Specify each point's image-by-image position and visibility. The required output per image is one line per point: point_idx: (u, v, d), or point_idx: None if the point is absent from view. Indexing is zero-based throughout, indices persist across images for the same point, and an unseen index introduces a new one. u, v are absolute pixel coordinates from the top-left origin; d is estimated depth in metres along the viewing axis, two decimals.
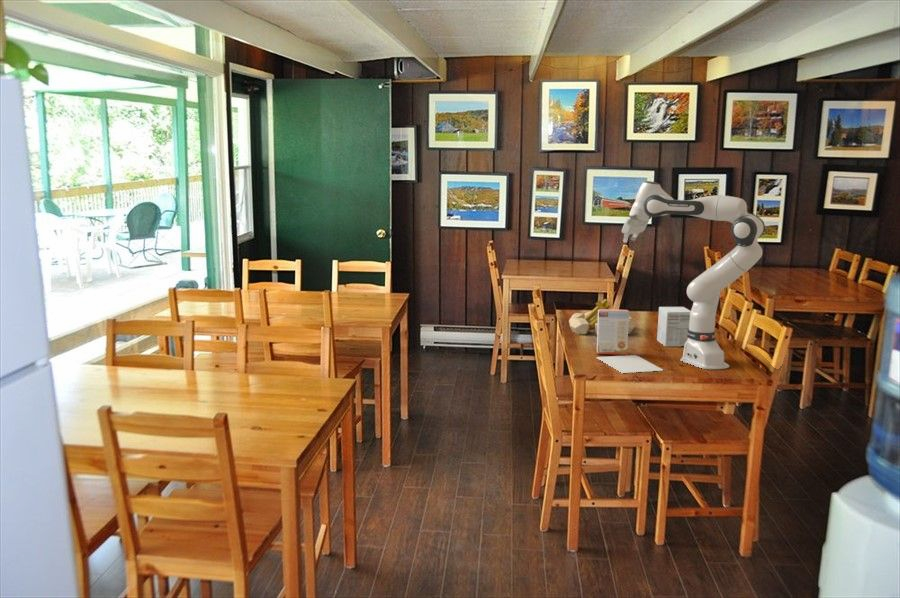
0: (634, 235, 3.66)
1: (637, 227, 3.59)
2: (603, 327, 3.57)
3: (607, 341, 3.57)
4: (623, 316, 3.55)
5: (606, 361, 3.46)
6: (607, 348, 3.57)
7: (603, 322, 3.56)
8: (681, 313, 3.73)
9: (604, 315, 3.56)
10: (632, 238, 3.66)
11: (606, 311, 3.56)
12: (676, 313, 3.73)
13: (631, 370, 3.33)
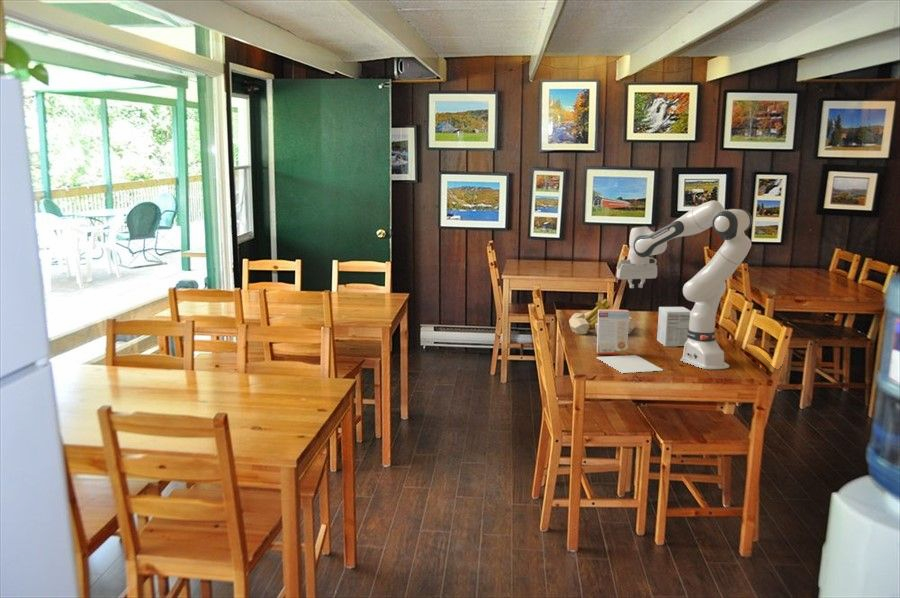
0: (641, 282, 3.71)
1: (637, 272, 3.67)
2: (603, 327, 3.56)
3: (607, 341, 3.57)
4: (623, 316, 3.55)
5: (606, 361, 3.46)
6: (607, 348, 3.57)
7: (603, 323, 3.56)
8: (681, 313, 3.73)
9: (604, 315, 3.56)
10: (639, 285, 3.71)
11: (606, 311, 3.56)
12: (676, 313, 3.73)
13: (631, 370, 3.33)
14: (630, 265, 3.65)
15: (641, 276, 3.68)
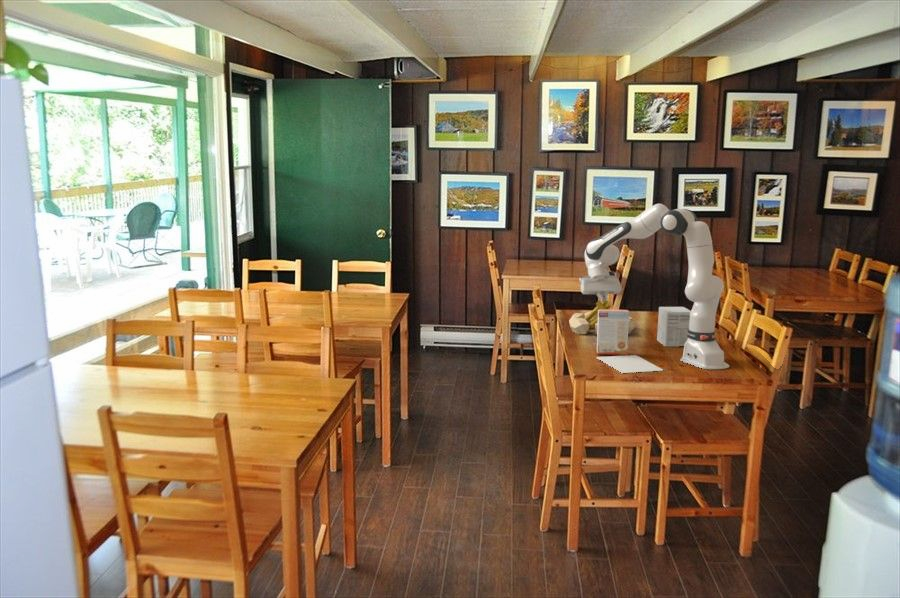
0: (605, 296, 3.71)
1: (600, 285, 3.72)
2: (603, 327, 3.56)
3: (607, 341, 3.57)
4: (623, 316, 3.55)
5: (606, 361, 3.46)
6: (607, 348, 3.57)
7: (603, 323, 3.56)
8: (681, 313, 3.73)
9: (604, 315, 3.56)
10: None
11: (606, 311, 3.56)
12: (676, 313, 3.73)
13: (631, 370, 3.33)
14: (591, 279, 3.72)
15: (605, 288, 3.71)
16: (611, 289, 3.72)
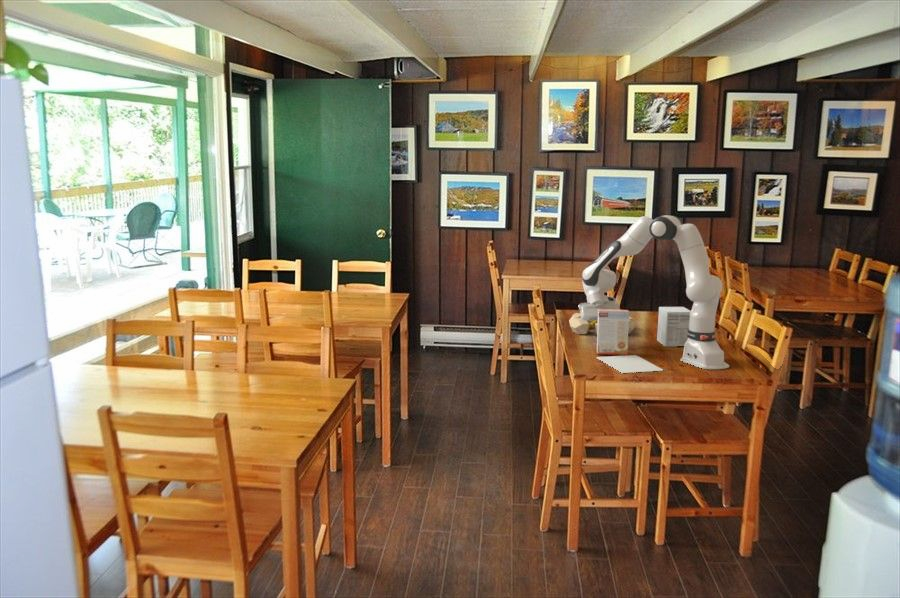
0: None
1: None
2: (603, 327, 3.56)
3: (607, 341, 3.57)
4: (623, 316, 3.55)
5: (606, 361, 3.46)
6: (607, 348, 3.57)
7: (603, 323, 3.56)
8: (681, 313, 3.73)
9: (604, 315, 3.56)
10: None
11: (606, 311, 3.56)
12: (676, 313, 3.73)
13: (631, 370, 3.33)
14: (591, 305, 3.70)
15: None
16: None
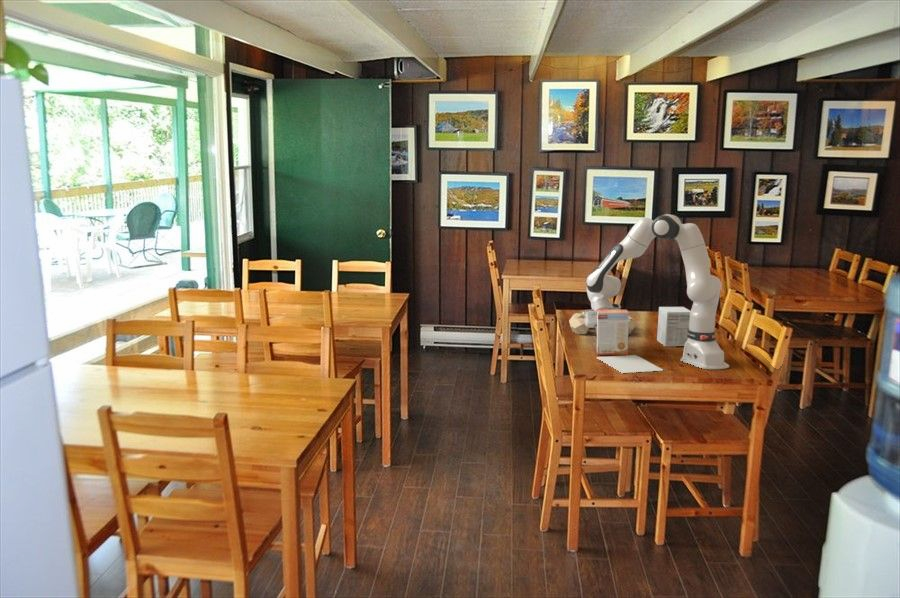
0: None
1: None
2: (603, 329, 3.54)
3: (607, 343, 3.56)
4: (623, 318, 3.52)
5: (606, 361, 3.46)
6: (607, 349, 3.57)
7: (603, 325, 3.54)
8: (681, 313, 3.73)
9: (603, 317, 3.53)
10: None
11: (605, 313, 3.52)
12: (676, 313, 3.73)
13: (631, 370, 3.33)
14: (595, 311, 3.65)
15: None
16: None
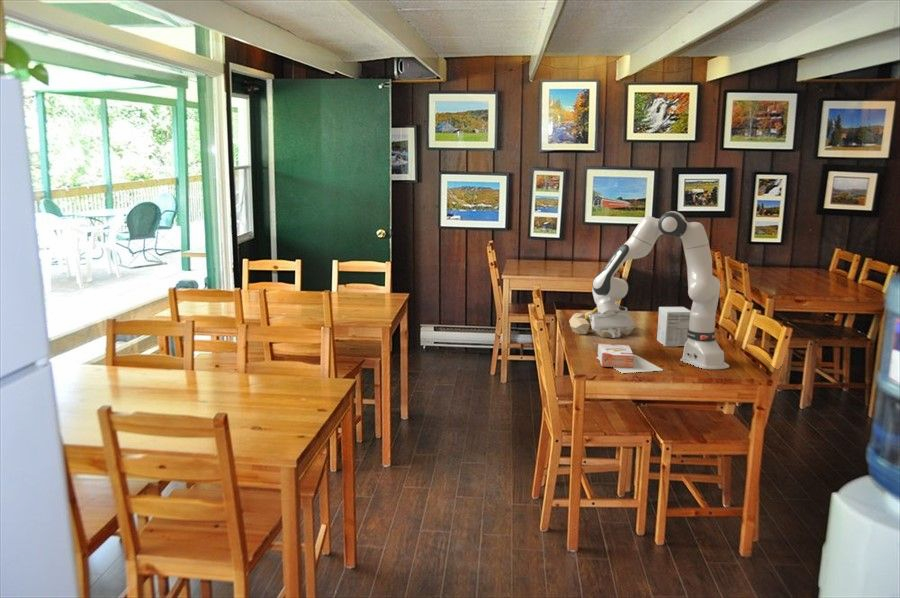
0: (617, 332, 3.57)
1: (611, 320, 3.58)
2: None
3: None
4: None
5: None
6: None
7: None
8: (681, 313, 3.73)
9: None
10: None
11: (609, 366, 3.38)
12: (676, 313, 3.73)
13: (631, 370, 3.33)
14: (602, 314, 3.59)
15: (617, 324, 3.57)
16: (623, 324, 3.58)
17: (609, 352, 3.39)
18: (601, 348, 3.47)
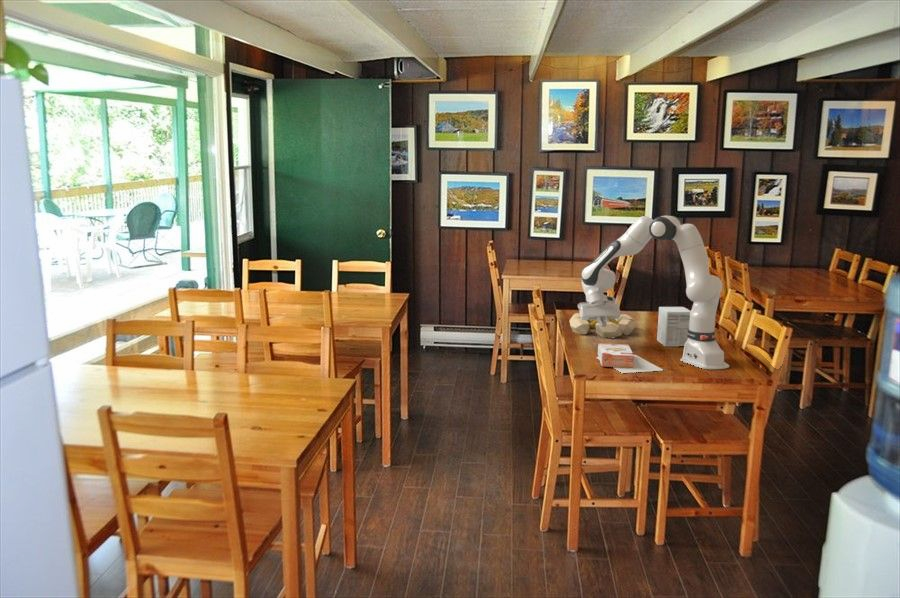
0: None
1: (599, 310, 3.69)
2: None
3: None
4: None
5: None
6: None
7: None
8: (681, 313, 3.73)
9: None
10: None
11: (609, 366, 3.38)
12: (676, 313, 3.73)
13: (631, 370, 3.33)
14: (590, 304, 3.70)
15: (605, 313, 3.69)
16: (610, 314, 3.69)
17: (609, 352, 3.39)
18: (601, 348, 3.47)
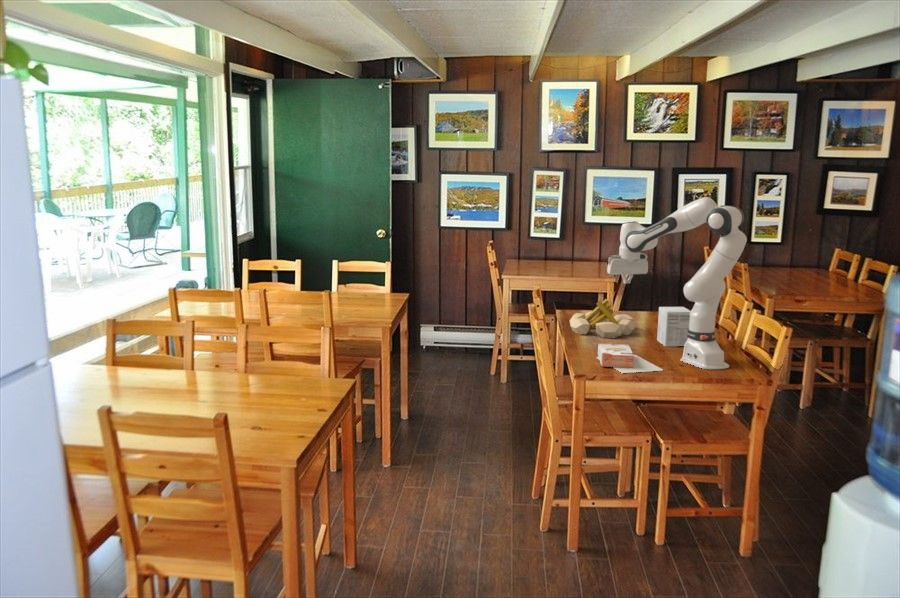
0: (629, 278, 3.71)
1: (627, 267, 3.67)
2: None
3: None
4: None
5: None
6: None
7: None
8: (681, 313, 3.73)
9: None
10: None
11: (609, 366, 3.38)
12: (676, 313, 3.73)
13: (631, 370, 3.33)
14: (621, 260, 3.66)
15: (632, 271, 3.68)
16: (637, 272, 3.69)
17: (609, 352, 3.39)
18: (601, 348, 3.47)
